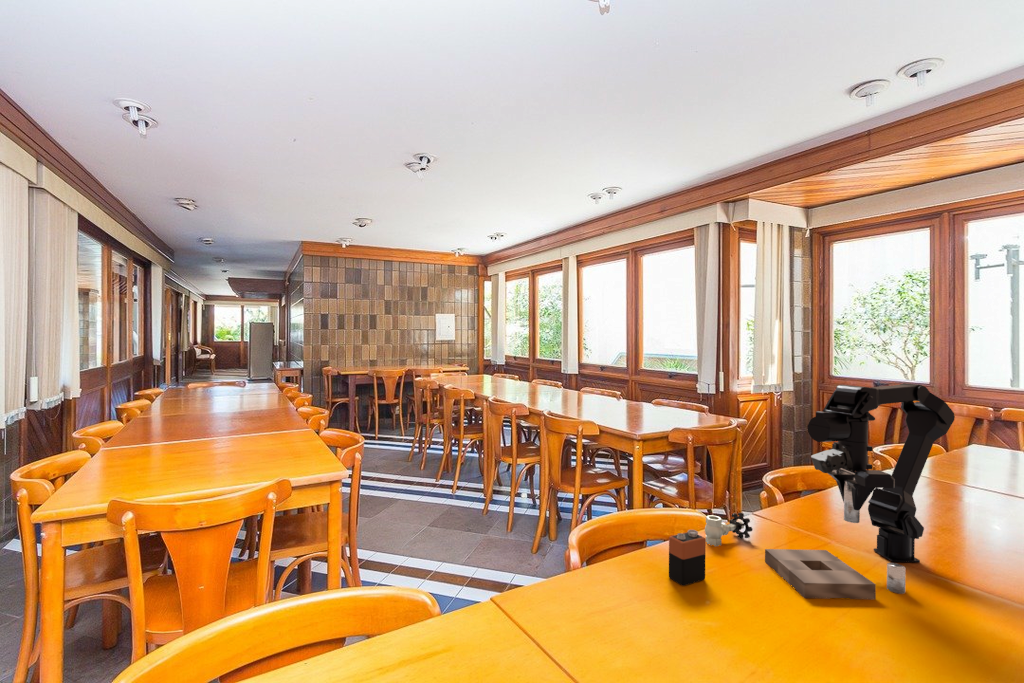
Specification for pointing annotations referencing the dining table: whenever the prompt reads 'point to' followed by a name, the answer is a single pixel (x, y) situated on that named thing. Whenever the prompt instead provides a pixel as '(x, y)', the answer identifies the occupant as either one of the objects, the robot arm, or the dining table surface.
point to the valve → (725, 528)
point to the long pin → (849, 505)
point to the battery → (687, 557)
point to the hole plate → (819, 574)
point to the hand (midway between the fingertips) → (851, 507)
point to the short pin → (896, 578)
